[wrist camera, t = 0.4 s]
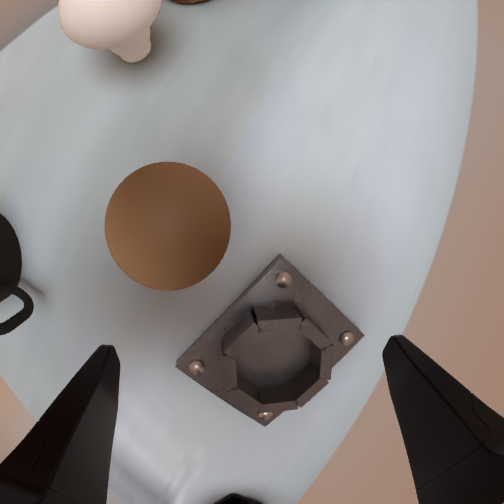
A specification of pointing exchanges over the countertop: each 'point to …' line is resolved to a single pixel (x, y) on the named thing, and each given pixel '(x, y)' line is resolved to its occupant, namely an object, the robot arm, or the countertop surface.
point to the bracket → (271, 345)
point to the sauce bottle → (189, 1)
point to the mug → (11, 276)
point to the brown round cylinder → (167, 226)
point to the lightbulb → (110, 25)
